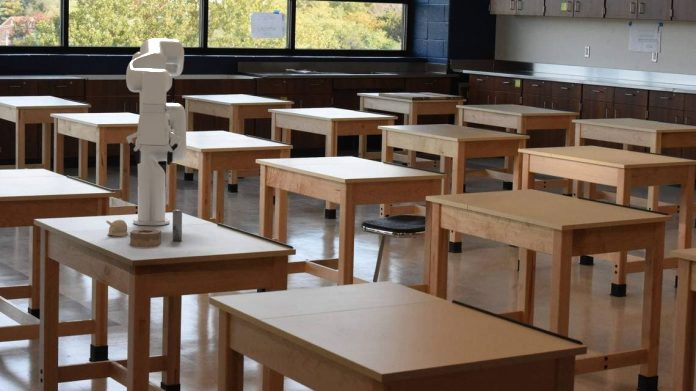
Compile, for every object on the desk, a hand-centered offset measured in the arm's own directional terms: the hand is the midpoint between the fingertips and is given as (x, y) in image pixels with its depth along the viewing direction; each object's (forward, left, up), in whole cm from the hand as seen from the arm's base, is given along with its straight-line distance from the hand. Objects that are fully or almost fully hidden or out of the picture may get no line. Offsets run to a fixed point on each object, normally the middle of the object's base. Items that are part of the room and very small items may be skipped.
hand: (153, 164), depth 367 cm
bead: (+2, -2, -25) cm, 25 cm away
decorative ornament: (-13, -14, -26) cm, 32 cm away
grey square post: (-5, +7, -25) cm, 27 cm away
